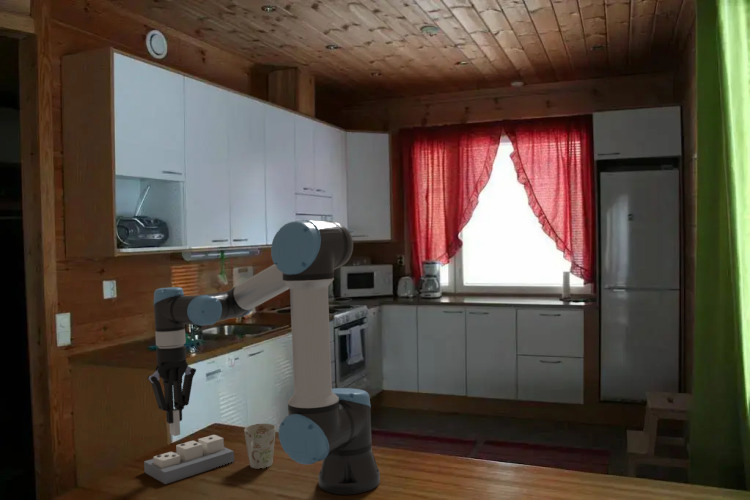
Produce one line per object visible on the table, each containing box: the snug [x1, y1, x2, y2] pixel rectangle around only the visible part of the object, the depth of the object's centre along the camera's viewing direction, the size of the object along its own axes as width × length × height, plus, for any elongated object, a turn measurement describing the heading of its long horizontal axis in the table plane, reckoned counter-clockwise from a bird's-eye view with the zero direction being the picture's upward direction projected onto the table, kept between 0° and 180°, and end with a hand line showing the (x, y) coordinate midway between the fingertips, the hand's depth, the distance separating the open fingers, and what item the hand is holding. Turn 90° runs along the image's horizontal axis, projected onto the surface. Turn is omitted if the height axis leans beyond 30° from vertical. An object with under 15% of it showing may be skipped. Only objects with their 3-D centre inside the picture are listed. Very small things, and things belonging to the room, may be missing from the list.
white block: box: [197, 434, 225, 455], centre depth 170 cm, size 5×5×4 cm
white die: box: [175, 440, 203, 462], centre depth 165 cm, size 5×5×4 cm
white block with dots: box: [152, 451, 180, 469], centre depth 161 cm, size 5×5×4 cm
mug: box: [243, 423, 276, 470], centre depth 163 cm, size 8×13×10 cm, turn 174°
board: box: [143, 446, 235, 485], centre depth 165 cm, size 12×20×3 cm, turn 135°
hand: (175, 434), depth 162 cm, fingers closed
